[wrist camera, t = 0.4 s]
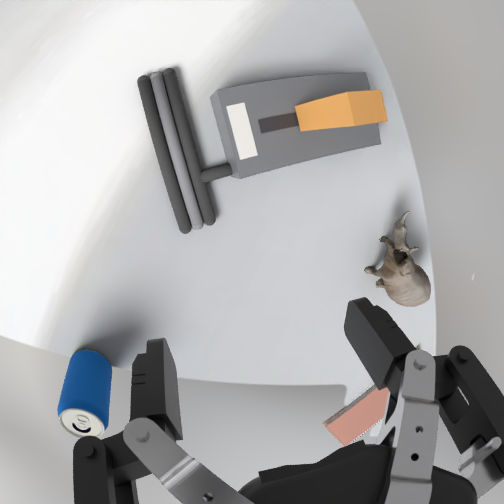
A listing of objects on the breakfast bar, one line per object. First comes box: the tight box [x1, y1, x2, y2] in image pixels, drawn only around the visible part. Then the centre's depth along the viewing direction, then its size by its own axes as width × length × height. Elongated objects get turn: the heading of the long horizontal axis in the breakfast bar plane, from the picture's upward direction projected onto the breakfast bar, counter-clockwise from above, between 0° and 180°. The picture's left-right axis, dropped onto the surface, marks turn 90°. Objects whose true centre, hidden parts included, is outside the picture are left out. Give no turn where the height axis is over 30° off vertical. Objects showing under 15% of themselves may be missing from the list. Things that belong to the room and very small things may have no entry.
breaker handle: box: [295, 90, 387, 131], centre depth 27 cm, size 3×4×10 cm
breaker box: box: [210, 73, 381, 179], centre depth 33 cm, size 10×20×4 cm, turn 105°
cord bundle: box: [137, 68, 233, 234], centre depth 32 cm, size 19×10×1 cm, turn 15°
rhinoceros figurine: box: [364, 211, 431, 307], centre depth 43 cm, size 8×14×15 cm
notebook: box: [323, 349, 419, 446], centre depth 61 cm, size 27×17×2 cm, turn 122°
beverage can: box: [58, 350, 112, 438], centre depth 31 cm, size 6×6×12 cm
